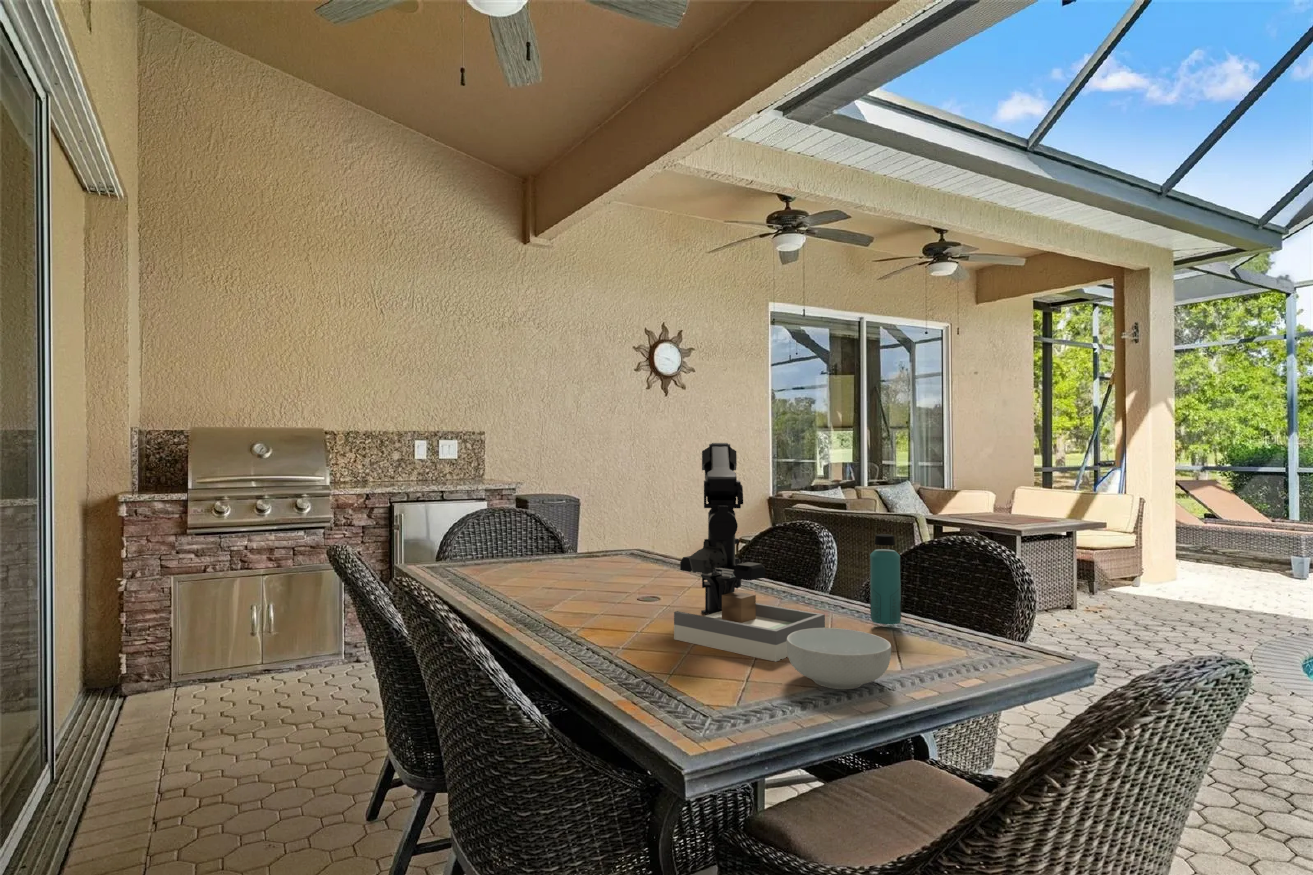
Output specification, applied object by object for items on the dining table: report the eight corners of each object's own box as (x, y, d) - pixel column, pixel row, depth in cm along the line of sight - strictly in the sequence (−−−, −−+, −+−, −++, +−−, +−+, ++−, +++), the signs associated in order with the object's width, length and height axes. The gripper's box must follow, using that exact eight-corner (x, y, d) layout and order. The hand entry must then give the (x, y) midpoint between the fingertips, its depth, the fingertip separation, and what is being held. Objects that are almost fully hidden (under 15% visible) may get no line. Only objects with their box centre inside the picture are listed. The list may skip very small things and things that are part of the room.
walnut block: (721, 619, 159) (721, 595, 159) (736, 615, 163) (736, 591, 163) (741, 623, 156) (741, 598, 156) (755, 618, 159) (755, 594, 159)
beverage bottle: (905, 631, 161) (905, 536, 161) (873, 631, 161) (873, 536, 161) (896, 624, 167) (896, 532, 167) (865, 624, 167) (865, 532, 167)
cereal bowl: (815, 703, 117) (815, 657, 117) (770, 671, 133) (770, 631, 133) (912, 693, 121) (912, 648, 121) (857, 664, 137) (857, 624, 137)
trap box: (674, 639, 154) (674, 611, 154) (726, 623, 168) (726, 598, 168) (775, 661, 139) (775, 631, 139) (824, 642, 152) (824, 614, 152)
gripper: (663, 533, 162) (663, 607, 162) (734, 541, 150) (734, 621, 150) (696, 529, 171) (696, 599, 171) (766, 536, 158) (766, 612, 158)
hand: (721, 608), depth 162 cm, fingers closed
